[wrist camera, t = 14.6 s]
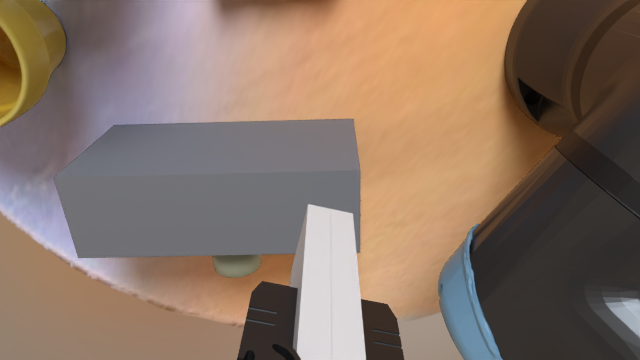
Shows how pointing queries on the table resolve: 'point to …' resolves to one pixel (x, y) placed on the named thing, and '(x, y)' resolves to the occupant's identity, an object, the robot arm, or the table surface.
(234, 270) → the sage button
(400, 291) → the table surface
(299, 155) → the control box
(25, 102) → the plant pot
